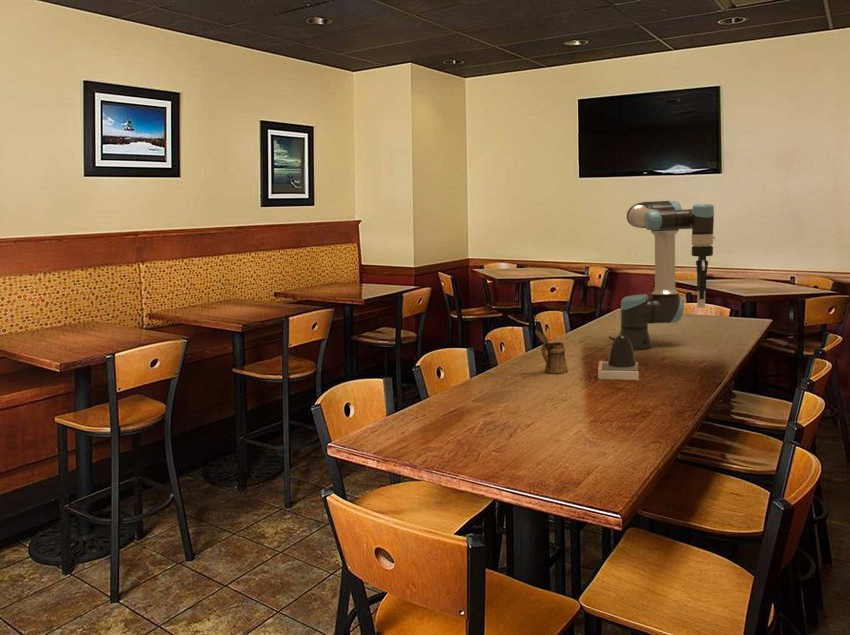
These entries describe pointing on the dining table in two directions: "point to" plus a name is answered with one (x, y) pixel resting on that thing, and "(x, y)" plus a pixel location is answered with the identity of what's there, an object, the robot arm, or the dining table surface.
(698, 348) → the dining table surface
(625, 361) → the black tall rounded piece
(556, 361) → the wooden mug
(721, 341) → the dining table surface
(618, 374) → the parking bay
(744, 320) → the dining table surface
